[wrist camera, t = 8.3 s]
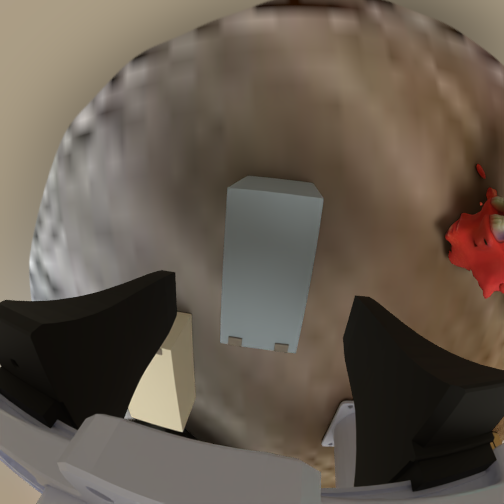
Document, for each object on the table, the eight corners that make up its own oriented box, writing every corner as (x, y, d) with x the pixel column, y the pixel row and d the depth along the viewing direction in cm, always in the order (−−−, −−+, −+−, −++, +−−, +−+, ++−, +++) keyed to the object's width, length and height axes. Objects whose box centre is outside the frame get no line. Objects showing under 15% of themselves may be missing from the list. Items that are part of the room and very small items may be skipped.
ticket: (191, 314, 21) (170, 351, 17) (196, 397, 25) (182, 433, 21) (134, 302, 22) (105, 334, 17) (149, 385, 25) (131, 417, 21)
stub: (312, 182, 17) (323, 199, 11) (295, 298, 20) (295, 354, 14) (248, 175, 17) (226, 188, 12) (239, 290, 20) (219, 344, 14)
